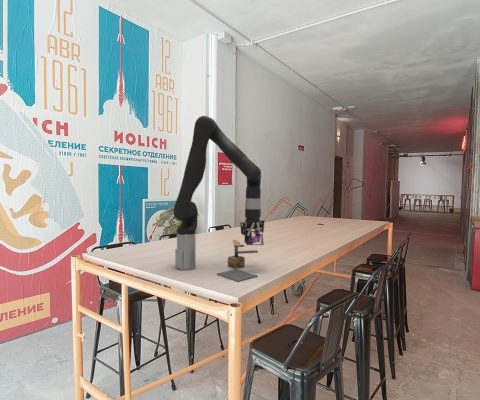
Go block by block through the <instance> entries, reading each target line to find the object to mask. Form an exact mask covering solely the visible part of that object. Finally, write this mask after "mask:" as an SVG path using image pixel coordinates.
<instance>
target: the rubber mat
mask: <svg viewBox="0 0 480 400" xmlns="http://www.w3.org/2000/svg"><path fill="white" fill-rule="evenodd" d="M216 275H217V276H220V277H222V278H225V279H228V280H231V281H234V282H237V283H240V282H242V281H243V282H244V281H247V280H250V279H254V278H258V275H257V274H253V273H250V272H248V271H244V270H241V269H239V268H238V269H234V268H233V269H230V270H226V271H221V272H218V273H217V272H216Z"/></svg>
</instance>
